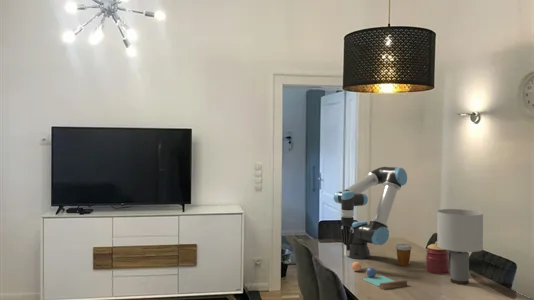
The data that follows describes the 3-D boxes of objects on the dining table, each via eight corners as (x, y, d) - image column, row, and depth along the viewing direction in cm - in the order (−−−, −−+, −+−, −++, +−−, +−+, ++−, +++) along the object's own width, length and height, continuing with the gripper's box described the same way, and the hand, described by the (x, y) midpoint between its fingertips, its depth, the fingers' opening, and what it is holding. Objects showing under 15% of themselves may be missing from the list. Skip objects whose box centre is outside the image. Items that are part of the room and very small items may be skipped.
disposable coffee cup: (412, 267, 278) (412, 247, 277) (396, 266, 279) (396, 246, 279) (410, 263, 287) (410, 244, 287) (395, 262, 289) (395, 243, 289)
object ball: (364, 276, 257) (364, 266, 257) (372, 275, 260) (372, 265, 260) (370, 279, 252) (370, 269, 252) (378, 277, 255) (378, 268, 255)
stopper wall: (379, 288, 236) (380, 283, 236) (404, 284, 243) (404, 279, 243) (382, 289, 235) (382, 284, 235) (406, 285, 241) (407, 280, 241)
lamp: (427, 278, 253) (428, 210, 253) (458, 274, 262) (459, 208, 262) (460, 291, 232) (460, 216, 232) (492, 285, 241) (493, 213, 241)
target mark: (361, 279, 252) (361, 278, 252) (382, 276, 258) (382, 275, 258) (377, 286, 240) (377, 285, 240) (399, 283, 245) (399, 282, 245)
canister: (448, 269, 272) (448, 240, 272) (449, 275, 260) (450, 244, 260) (425, 267, 276) (425, 238, 276) (425, 273, 264) (425, 242, 264)
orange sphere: (349, 270, 270) (350, 261, 270) (357, 269, 272) (357, 260, 272) (355, 272, 265) (355, 263, 265) (363, 271, 267) (363, 262, 267)
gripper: (336, 215, 282) (335, 253, 282) (348, 218, 270) (347, 258, 270) (346, 214, 285) (346, 252, 285) (358, 217, 273) (358, 257, 273)
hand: (346, 255), depth 277 cm, fingers closed
